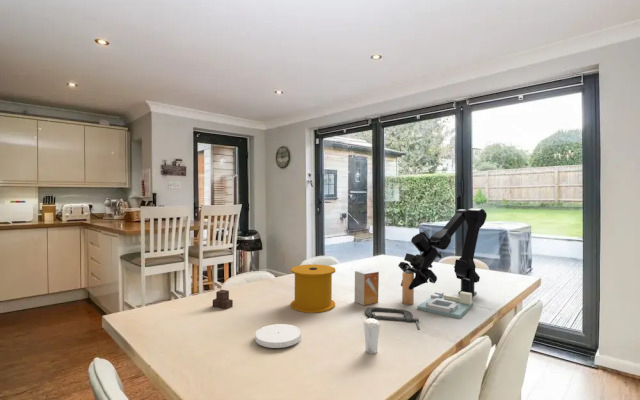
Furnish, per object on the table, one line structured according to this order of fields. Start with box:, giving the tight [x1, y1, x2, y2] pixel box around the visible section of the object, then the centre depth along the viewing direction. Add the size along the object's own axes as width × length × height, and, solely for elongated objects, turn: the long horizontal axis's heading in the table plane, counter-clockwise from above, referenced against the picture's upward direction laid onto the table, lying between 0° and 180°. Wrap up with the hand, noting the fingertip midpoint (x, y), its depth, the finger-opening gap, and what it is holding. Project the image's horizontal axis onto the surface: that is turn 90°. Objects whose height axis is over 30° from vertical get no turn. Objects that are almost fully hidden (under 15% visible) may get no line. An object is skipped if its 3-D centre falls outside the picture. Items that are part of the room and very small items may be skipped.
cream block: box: [444, 292, 473, 305], centre depth 137 cm, size 3×10×4 cm, turn 52°
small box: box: [354, 268, 380, 306], centre depth 139 cm, size 8×6×13 cm
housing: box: [416, 290, 474, 319], centre depth 134 cm, size 20×16×3 cm
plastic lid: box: [254, 323, 302, 349], centre depth 103 cm, size 14×14×2 cm
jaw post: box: [401, 270, 415, 306], centre depth 139 cm, size 5×5×13 cm
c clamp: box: [364, 306, 421, 331], centre depth 122 cm, size 20×17×3 cm
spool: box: [290, 263, 336, 314], centre depth 135 cm, size 18×18×15 cm
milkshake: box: [361, 316, 381, 355], centre depth 95 cm, size 4×5×10 cm
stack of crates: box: [212, 289, 234, 310], centre depth 134 cm, size 15×15×7 cm
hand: (405, 287), depth 138 cm, fingers closed on jaw post, 5 cm apart
